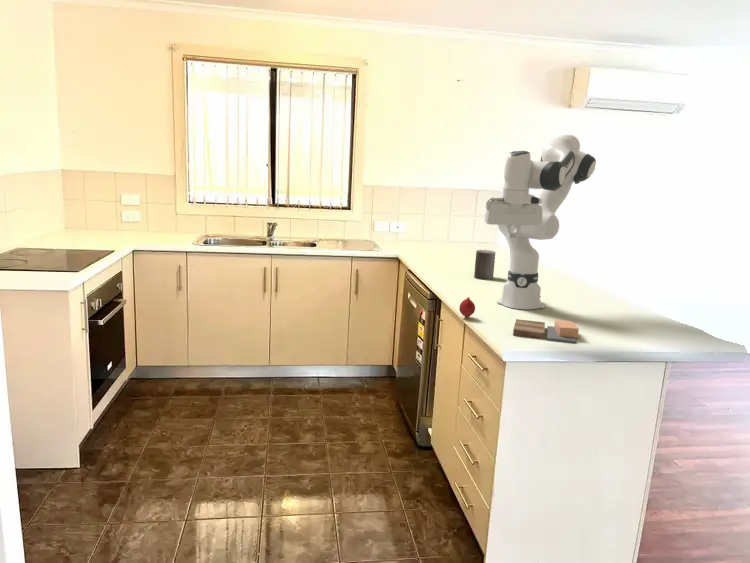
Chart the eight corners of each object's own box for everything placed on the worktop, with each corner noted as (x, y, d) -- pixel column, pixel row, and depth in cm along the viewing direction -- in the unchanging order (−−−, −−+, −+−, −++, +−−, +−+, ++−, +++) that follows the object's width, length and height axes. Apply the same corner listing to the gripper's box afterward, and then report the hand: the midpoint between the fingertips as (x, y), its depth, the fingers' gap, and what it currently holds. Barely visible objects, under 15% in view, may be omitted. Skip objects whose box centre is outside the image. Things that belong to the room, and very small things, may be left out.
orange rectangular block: (554, 328, 196) (554, 320, 196) (571, 329, 196) (572, 321, 195) (559, 336, 188) (560, 327, 187) (577, 337, 187) (578, 328, 186)
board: (515, 324, 203) (516, 319, 202) (544, 327, 200) (544, 322, 199) (512, 335, 190) (513, 329, 189) (543, 338, 187) (544, 333, 186)
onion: (456, 317, 209) (457, 297, 207) (462, 314, 214) (464, 294, 212) (470, 320, 206) (472, 299, 204) (476, 317, 211) (478, 296, 209)
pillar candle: (472, 278, 283) (475, 249, 280) (475, 275, 292) (477, 246, 289) (492, 280, 281) (495, 251, 277) (494, 277, 290) (496, 248, 286)
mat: (547, 328, 200) (547, 325, 199) (574, 331, 197) (574, 328, 197) (546, 340, 186) (547, 337, 185) (575, 343, 183) (575, 341, 183)
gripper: (489, 198, 192) (487, 238, 195) (546, 199, 195) (542, 239, 198) (483, 196, 198) (480, 236, 201) (538, 198, 201) (534, 236, 204)
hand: (511, 237), depth 199 cm, fingers closed
